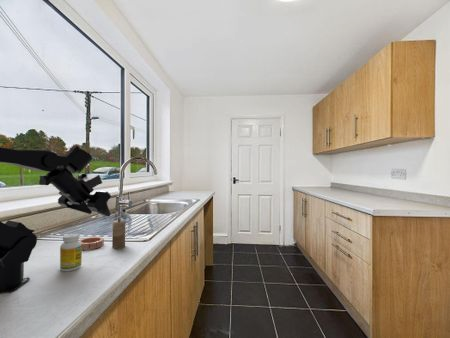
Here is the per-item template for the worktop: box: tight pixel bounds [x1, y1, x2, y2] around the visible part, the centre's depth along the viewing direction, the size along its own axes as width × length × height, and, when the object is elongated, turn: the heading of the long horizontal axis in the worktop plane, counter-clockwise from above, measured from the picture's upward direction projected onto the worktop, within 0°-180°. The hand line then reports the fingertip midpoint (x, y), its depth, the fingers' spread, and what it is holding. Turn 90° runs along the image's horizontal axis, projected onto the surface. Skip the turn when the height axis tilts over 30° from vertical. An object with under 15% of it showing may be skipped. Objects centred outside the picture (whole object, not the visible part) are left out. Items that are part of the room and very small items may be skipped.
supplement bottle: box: [59, 233, 83, 272], centre depth 70 cm, size 5×5×10 cm
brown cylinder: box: [111, 215, 126, 250], centre depth 90 cm, size 4×4×12 cm
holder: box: [78, 236, 105, 251], centre depth 90 cm, size 9×9×2 cm
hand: (100, 214), depth 82 cm, fingers open, 9 cm apart
